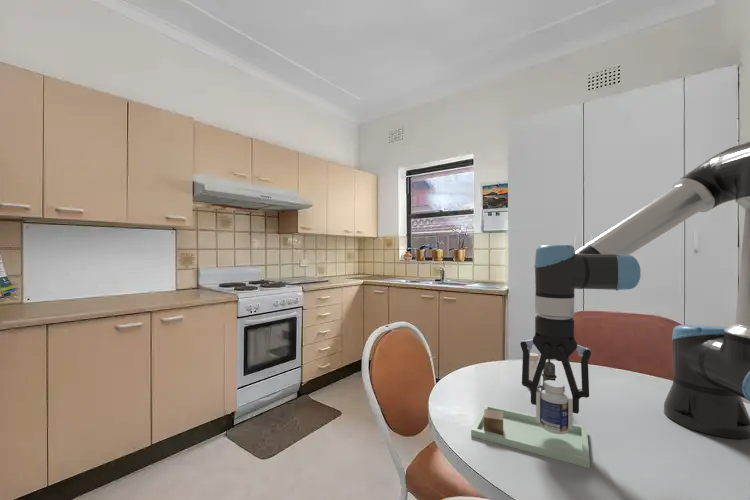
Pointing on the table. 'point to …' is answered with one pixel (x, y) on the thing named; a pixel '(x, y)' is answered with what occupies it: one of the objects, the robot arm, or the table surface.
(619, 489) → the table surface
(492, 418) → the walnut block
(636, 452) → the table surface
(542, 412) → the pill bottle
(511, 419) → the tray
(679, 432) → the table surface
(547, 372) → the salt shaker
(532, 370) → the salt shaker
